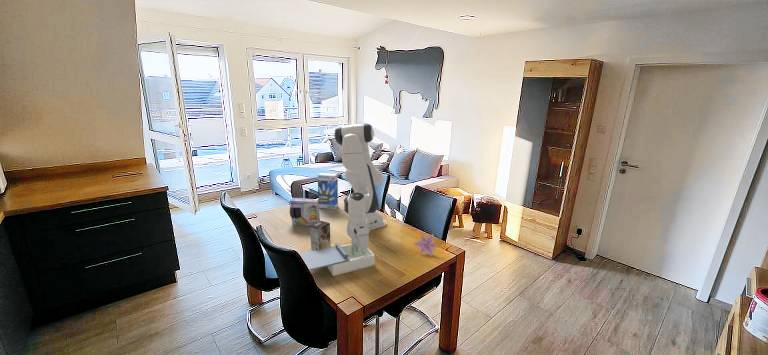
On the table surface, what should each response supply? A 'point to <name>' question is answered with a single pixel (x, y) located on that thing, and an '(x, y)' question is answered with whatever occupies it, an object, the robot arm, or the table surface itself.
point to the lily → (426, 244)
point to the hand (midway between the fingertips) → (356, 249)
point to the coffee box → (320, 235)
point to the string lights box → (328, 190)
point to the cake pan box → (304, 211)
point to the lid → (324, 257)
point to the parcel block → (355, 250)
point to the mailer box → (353, 261)
